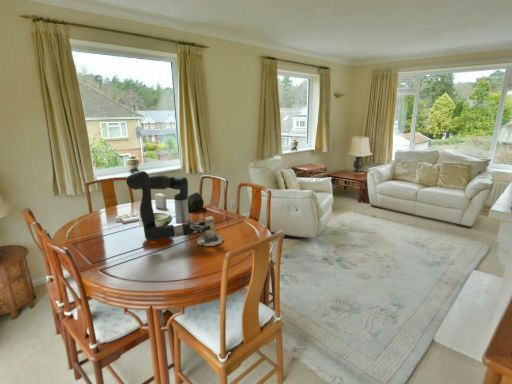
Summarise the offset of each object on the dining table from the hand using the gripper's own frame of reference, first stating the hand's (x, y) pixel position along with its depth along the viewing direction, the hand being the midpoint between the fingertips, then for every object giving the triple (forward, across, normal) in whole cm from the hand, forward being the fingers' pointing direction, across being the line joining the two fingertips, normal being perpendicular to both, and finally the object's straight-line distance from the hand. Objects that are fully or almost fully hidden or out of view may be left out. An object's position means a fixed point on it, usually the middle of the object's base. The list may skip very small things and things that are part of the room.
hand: (208, 225), depth 178 cm
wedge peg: (+1, 0, +9) cm, 9 cm away
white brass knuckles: (-43, +63, +11) cm, 77 cm away
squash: (+7, +67, +11) cm, 68 cm away
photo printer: (-18, +82, +11) cm, 85 cm away
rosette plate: (+1, 0, +10) cm, 11 cm away
